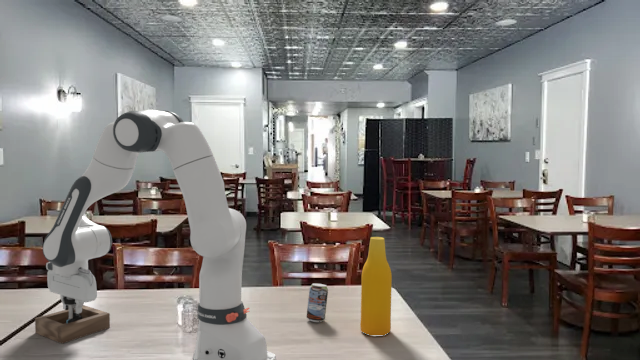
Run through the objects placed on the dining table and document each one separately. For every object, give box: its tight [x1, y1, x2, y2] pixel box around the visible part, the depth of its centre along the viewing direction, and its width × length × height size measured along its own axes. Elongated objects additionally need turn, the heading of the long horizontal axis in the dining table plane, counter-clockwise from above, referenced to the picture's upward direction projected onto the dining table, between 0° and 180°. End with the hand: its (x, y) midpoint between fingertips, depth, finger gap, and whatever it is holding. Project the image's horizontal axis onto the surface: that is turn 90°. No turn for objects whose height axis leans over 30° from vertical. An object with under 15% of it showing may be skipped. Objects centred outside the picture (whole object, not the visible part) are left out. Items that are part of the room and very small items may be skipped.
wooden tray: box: [34, 304, 111, 344], centre depth 148 cm, size 14×15×4 cm
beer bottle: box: [359, 236, 393, 335], centre depth 149 cm, size 9×9×29 cm
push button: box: [64, 297, 82, 324], centre depth 147 cm, size 7×5×10 cm
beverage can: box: [306, 283, 329, 323], centre depth 159 cm, size 6×7×12 cm
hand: (72, 311), depth 147 cm, fingers open, 4 cm apart
